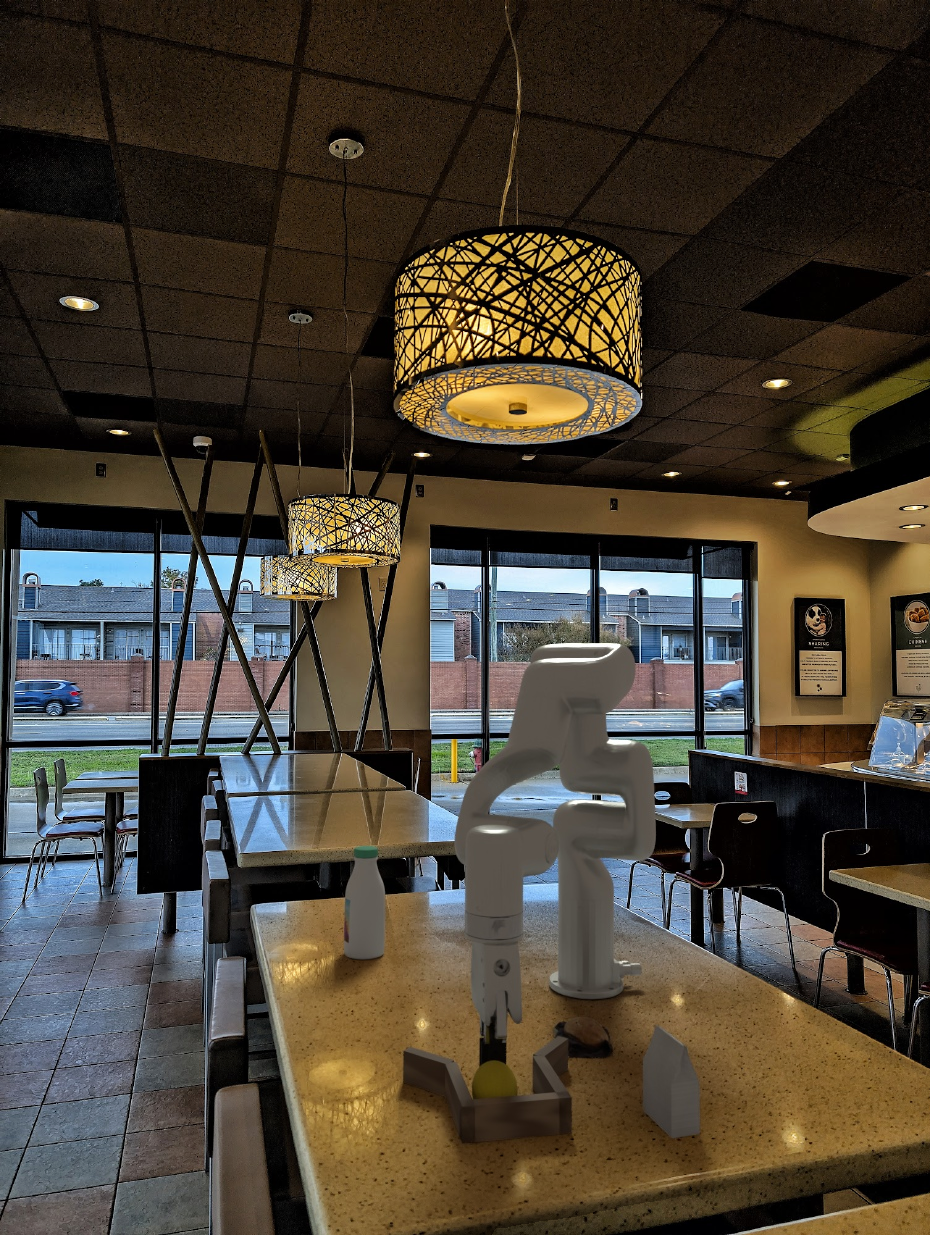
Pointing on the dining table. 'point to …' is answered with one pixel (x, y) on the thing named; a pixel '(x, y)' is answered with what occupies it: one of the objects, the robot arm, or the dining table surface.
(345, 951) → the milk bottle
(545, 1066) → the corral
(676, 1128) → the grey block
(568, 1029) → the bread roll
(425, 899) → the dining table surface
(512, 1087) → the lemon
